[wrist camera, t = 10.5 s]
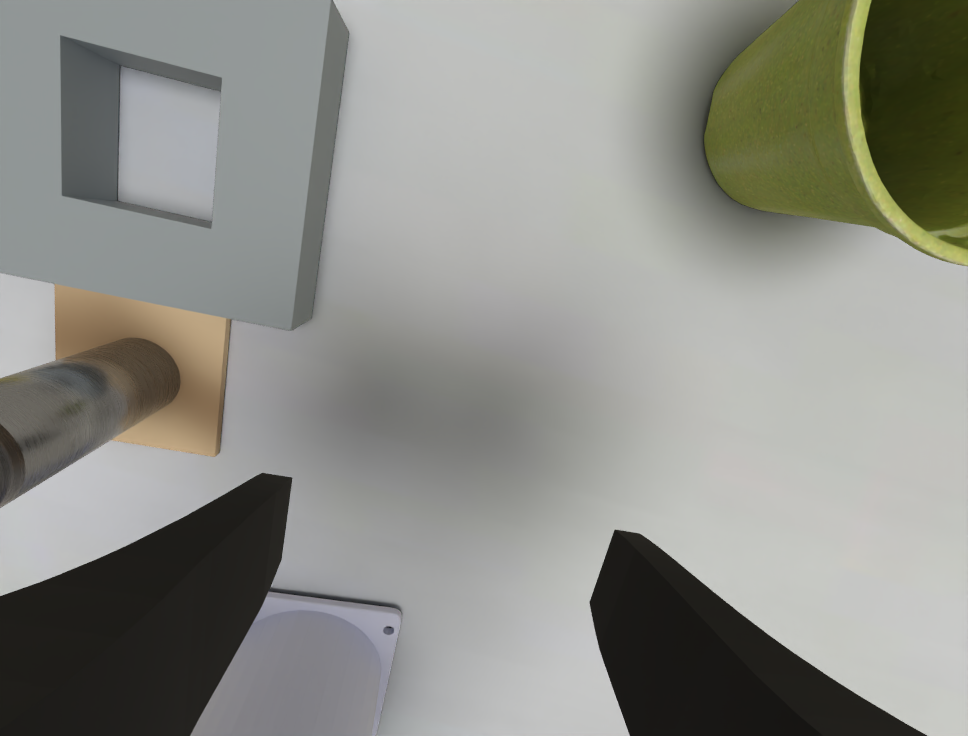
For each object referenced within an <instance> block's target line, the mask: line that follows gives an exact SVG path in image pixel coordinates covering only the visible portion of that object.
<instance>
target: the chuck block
mask: <svg viewBox="0 0 968 736" xmlns="http://www.w3.org/2000/svg"><path fill="white" fill-rule="evenodd" d="M348 38H349V31H348V29H347V27H346V25H345V23H344V21H343V19H342V17H341V16H340V14H339V12H338V10H337V8H336V6H335V4H334V2H333V0H0V273H3V274H8V275H13V276H18V277H23V278H28V279H33V280H38V281H43V282H48V283H53V284H58V285H63V286H68V287H73V288H78V289H83V290H88V291H93V292H98V293H103V294H108V295H113V296H118V297H123V298H128V299H133V300H138V301H143V302H148V303H153V304H158V305H163V306H168V307H173V308H178V309H183V310H188V311H193V312H198V313H203V314H208V315H213V316H218V317H223V318H228V319H233V320H238V321H243V322H248V323H253V324H258V325H263V326H268V327H273V328H278V329H283V330H288V331H292V330H294V329H295V328H297V327H298V326H300V325H302V324H303V323H305V322H306V321H308V320H309V319H311V318H312V311H313V304H314V296H315V288H316V281H317V273H318V266H319V258H320V250H321V243H322V235H323V228H324V220H325V212H326V205H327V197H328V190H329V182H330V174H331V167H332V159H333V152H334V144H335V137H336V129H337V121H338V114H339V106H340V99H341V91H342V83H343V76H344V68H345V61H346V53H347V45H348ZM120 65H121V66H125V67H129V68H133V69H136V70H140V71H144V72H148V73H152V74H156V75H160V76H163V77H167V78H171V79H175V80H179V81H183V82H187V83H191V84H194V85H198V86H202V87H206V88H210V89H214V90H218V91H221V100H220V114H219V129H218V143H217V157H216V171H215V185H214V199H213V213H212V222H209V221H205V220H200V219H196V218H191V217H187V216H182V215H178V214H173V213H169V212H164V211H160V210H155V209H151V208H147V207H142V206H138V205H133V204H129V203H124V202H120V201H117V174H118V124H119V73H120Z"/></svg>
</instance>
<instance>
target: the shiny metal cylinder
mask: <svg viewBox="0 0 968 736" xmlns="http://www.w3.org/2000/svg"><path fill="white" fill-rule="evenodd" d="M180 382H181V380H180V373H179V369H178V367H177V365H176V363H175V361H174V359H173V358H172V357H171V356H170V354H169V353H168V352H167V351H166V350H165V349H163V348H162V347H161V346H159V345H157V344H156V343H153V342H151V341H149V340H146V339H141V338H123V339H120V340H117V341H114V342H111V343H107V344H104V345H101V346H98V347H95V348H92V349H89V350H86V351H83V352H80V353H77V354H74V355H71V356H68V357H65V358H62V359H58V360H55V361H52V362H49V363H46V364H43V365H40V366H37V367H34V368H31V369H28V370H25V371H22V372H19V373H16V374H12V375H9V376H6V377H3V378H0V508H1V507H3V506H4V505H6V504H8V503H9V502H11V501H12V500H14V499H16V498H17V497H19V496H21V495H22V494H24V493H25V492H27V491H29V490H30V489H32V488H34V487H35V486H37V485H39V484H40V483H42V482H43V481H45V480H47V479H48V478H50V477H52V476H53V475H55V474H56V473H58V472H60V471H61V470H63V469H65V468H66V467H68V466H69V465H71V464H73V463H74V462H76V461H78V460H79V459H81V458H82V457H84V456H86V455H87V454H89V453H91V452H92V451H94V450H96V449H97V448H99V447H100V446H102V445H104V444H105V443H107V442H109V441H110V440H112V439H113V438H115V437H117V436H118V435H120V434H122V433H123V432H125V431H126V430H128V429H130V428H131V427H133V426H135V425H136V424H138V423H140V422H141V421H143V420H144V419H146V418H148V417H149V416H151V415H153V414H154V413H156V412H157V411H159V410H161V409H162V408H164V407H166V406H167V405H169V404H170V403H171V402H172V401H173V400H174V399H175V397H176V396H177V394H178V392H179V389H180Z"/></svg>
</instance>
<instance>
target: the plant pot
mask: <svg viewBox="0 0 968 736" xmlns="http://www.w3.org/2000/svg"><path fill="white" fill-rule="evenodd" d="M704 145H705V152H706V157H707V161H708V164H709V167H710V169H711V172H712V174H713V176H714V178H715V180H716V181H717V183H718V184H719V186H720V187H721V188H722V189H723V190H724V191H725V192H726V193H727V194H728V195H729V196H730V197H731V198H732V199H734V200H735V201H737V202H738V203H740V204H742V205H745V206H748V207H751V208H755V209H758V210H762V211H768V212H775V213H781V214H789V215H797V216H804V217H811V218H818V219H825V220H831V221H838V222H844V223H851V224H858V225H864V226H871V227H876V228H877V229H879V230H881V231H883V232H885V233H888V234H890V235H893V236H895V237H898V238H899V239H901V240H902V241H904V242H905V243H907V244H908V245H910V246H912V247H913V248H915V249H916V250H918V251H921V252H923V253H925V254H927V255H929V256H931V257H934V258H937V259H939V260H942V261H946V262H950V263H954V264H958V265H963V266H968V0H799V1H798V2H797V3H796V4H795V5H794V6H792V7H791V8H790V9H789V10H788V11H787V12H786V13H785V14H784V15H783V16H781V17H780V18H779V19H778V20H777V21H776V22H775V23H774V24H772V25H771V26H770V27H769V28H768V29H767V30H766V31H765V32H763V33H762V34H761V35H760V36H759V37H758V38H757V39H756V40H755V41H754V42H753V43H751V44H750V45H749V46H748V47H747V48H746V49H745V50H744V51H743V52H742V53H740V54H739V55H738V56H737V57H736V58H735V59H734V61H733V62H732V63H731V64H730V65H729V67H728V68H727V69H726V71H725V72H724V73H723V75H722V76H721V78H720V80H719V81H718V83H717V85H716V87H715V89H714V92H713V97H712V103H711V108H710V112H709V117H708V122H707V126H706V131H705V135H704Z"/></svg>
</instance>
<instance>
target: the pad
mask: <svg viewBox="0 0 968 736" xmlns="http://www.w3.org/2000/svg"><path fill="white" fill-rule="evenodd" d="M230 323H231V319H228V318H223V317H218V316H213V315H208V314H203V313H198V312H193V311H188V310H183V309H178V308H173V307H168V306H163V305H158V304H153V303H148V302H143V301H138V300H133V299H128V298H123V297H118V296H113V295H108V294H103V293H98V292H93V291H88V290H83V289H78V288H73V287H68V286H63V285H58V284H55V345H56V360H58V359H62V358H65V357H68V356H71V355H74V354H77V353H80V352H83V351H86V350H89V349H92V348H95V347H98V346H101V345H104V344H107V343H111V342H114V341H117V340H120V339H123V338H141V339H146V340H149V341H151V342H153V343H156V344H157V345H159V346H161V347H162V348H163V349H165V350H166V351H167V352H168V353H169V354H170V356H171V357H172V358H173V359H174V361H175V363H176V365H177V367H178V369H179V373H180V380H181V382H180V389H179V392H178V394H177V396H176V397H175V399H174V400H173V401H172V402H171V403H170V404H169V405H167V406H166V407H164V408H162V409H161V410H159V411H157V412H156V413H154V414H153V415H151V416H149V417H148V418H146V419H144V420H143V421H141V422H140V423H138V424H136V425H135V426H133V427H131V428H130V429H128V430H126V431H125V432H123V433H122V434H120V435H118V436H117V437H115V438H113V439H112V440H114V441H120V442H126V443H132V444H139V445H145V446H151V447H157V448H163V449H169V450H175V451H181V452H188V453H194V454H200V455H206V456H212V457H215V456H216V455H217V454H218V453H219V451H220V439H221V428H222V416H223V404H224V393H225V381H226V369H227V358H228V346H229V334H230Z"/></svg>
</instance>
